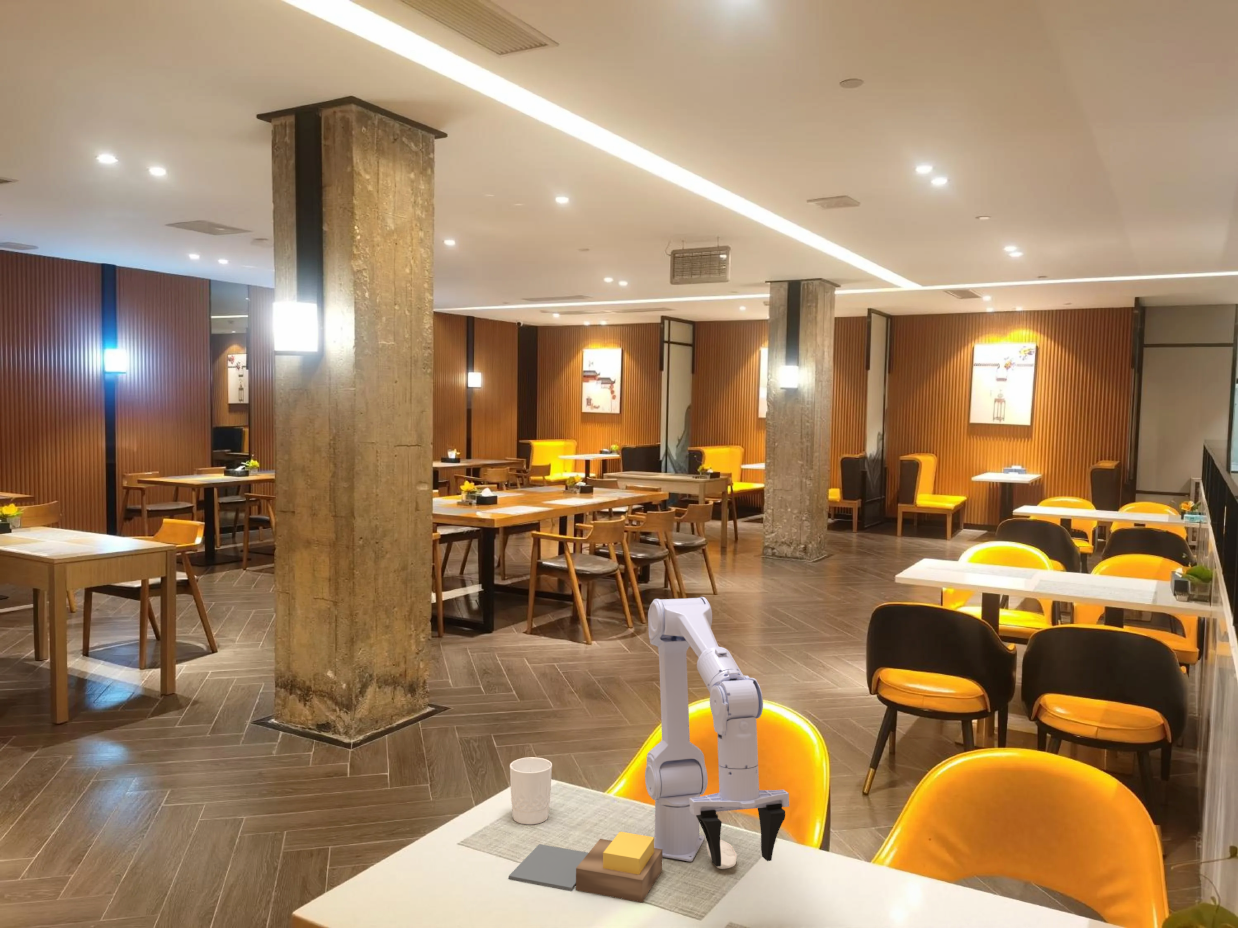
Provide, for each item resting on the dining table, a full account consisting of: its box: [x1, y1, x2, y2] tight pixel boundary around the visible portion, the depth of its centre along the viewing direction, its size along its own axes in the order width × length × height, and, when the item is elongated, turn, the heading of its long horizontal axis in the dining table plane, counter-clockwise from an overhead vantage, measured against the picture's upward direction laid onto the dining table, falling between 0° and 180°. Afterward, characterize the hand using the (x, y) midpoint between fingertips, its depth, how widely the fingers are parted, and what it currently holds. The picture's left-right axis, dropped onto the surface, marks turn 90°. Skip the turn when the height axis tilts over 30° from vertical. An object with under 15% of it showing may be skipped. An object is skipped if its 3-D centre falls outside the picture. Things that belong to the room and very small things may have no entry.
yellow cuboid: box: [603, 831, 655, 875], centre depth 144 cm, size 8×6×2 cm
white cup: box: [509, 756, 553, 825], centre depth 168 cm, size 8×8×10 cm
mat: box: [508, 843, 589, 892], centre depth 149 cm, size 12×11×1 cm
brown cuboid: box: [575, 838, 663, 903], centre depth 145 cm, size 11×11×4 cm
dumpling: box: [705, 838, 738, 870], centre depth 150 cm, size 7×5×4 cm
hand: (741, 861), depth 129 cm, fingers open, 7 cm apart
